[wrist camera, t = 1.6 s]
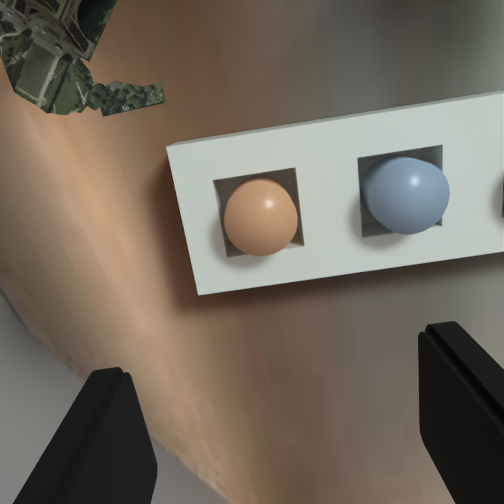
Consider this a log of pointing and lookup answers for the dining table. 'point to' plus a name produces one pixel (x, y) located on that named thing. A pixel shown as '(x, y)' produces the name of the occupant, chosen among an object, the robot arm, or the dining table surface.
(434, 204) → the slate blue button
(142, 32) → the dining table surface
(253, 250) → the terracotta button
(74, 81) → the eiffel tower figurine
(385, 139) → the white button panel
